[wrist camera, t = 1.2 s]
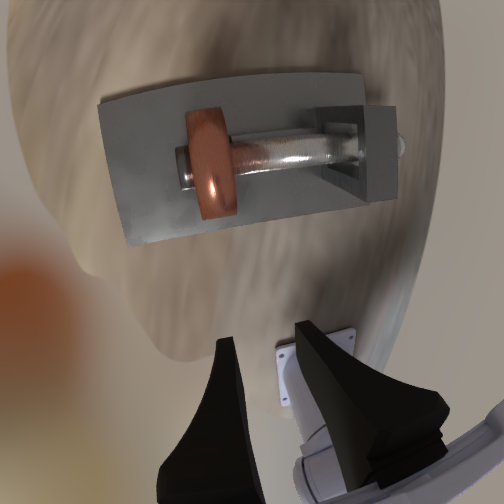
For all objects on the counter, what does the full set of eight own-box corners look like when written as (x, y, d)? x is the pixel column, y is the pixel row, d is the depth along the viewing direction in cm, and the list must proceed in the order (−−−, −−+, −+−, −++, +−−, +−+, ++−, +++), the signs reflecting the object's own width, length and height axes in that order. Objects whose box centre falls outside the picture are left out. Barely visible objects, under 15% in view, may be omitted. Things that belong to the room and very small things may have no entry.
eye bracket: (366, 203, 22) (420, 235, 16) (129, 244, 20) (105, 295, 14) (359, 74, 18) (419, 65, 12) (99, 105, 16) (55, 100, 10)
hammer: (380, 179, 21) (431, 201, 15) (190, 206, 19) (187, 241, 14) (376, 100, 18) (431, 101, 13) (174, 116, 17) (163, 112, 11)
